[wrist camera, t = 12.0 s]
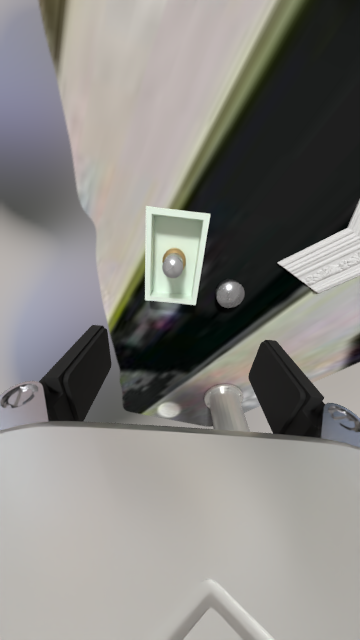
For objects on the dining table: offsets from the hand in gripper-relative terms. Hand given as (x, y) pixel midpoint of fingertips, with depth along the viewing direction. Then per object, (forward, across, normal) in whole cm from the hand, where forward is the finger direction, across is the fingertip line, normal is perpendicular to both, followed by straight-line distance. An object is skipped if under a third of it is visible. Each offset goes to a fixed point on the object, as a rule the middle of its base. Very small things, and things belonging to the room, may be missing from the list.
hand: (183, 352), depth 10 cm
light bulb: (+29, +2, -1) cm, 29 cm away
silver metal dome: (+30, -11, +5) cm, 33 cm away
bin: (+30, +2, -1) cm, 30 cm away
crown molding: (+31, -34, -9) cm, 47 cm away
